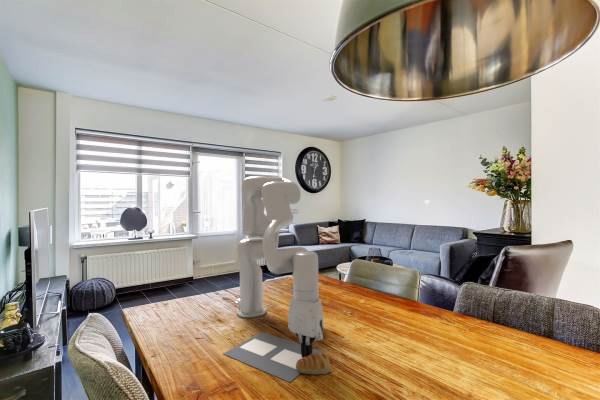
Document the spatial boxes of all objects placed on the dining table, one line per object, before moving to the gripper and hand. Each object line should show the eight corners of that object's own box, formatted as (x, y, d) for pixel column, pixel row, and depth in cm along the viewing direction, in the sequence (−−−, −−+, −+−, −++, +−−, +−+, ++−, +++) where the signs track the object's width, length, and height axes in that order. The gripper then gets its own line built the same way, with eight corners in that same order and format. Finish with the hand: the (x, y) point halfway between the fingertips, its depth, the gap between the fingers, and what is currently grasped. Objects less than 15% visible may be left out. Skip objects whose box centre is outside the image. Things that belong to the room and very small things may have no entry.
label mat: (223, 354, 90) (223, 353, 90) (262, 332, 105) (262, 331, 105) (290, 382, 75) (290, 381, 75) (324, 352, 90) (324, 351, 90)
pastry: (299, 378, 77) (299, 364, 77) (293, 364, 83) (293, 351, 83) (332, 373, 79) (332, 359, 79) (324, 360, 85) (324, 347, 85)
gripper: (278, 292, 87) (278, 354, 87) (321, 302, 78) (322, 370, 78) (292, 286, 93) (293, 344, 93) (334, 294, 84) (335, 357, 84)
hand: (306, 355), depth 86 cm, fingers closed
